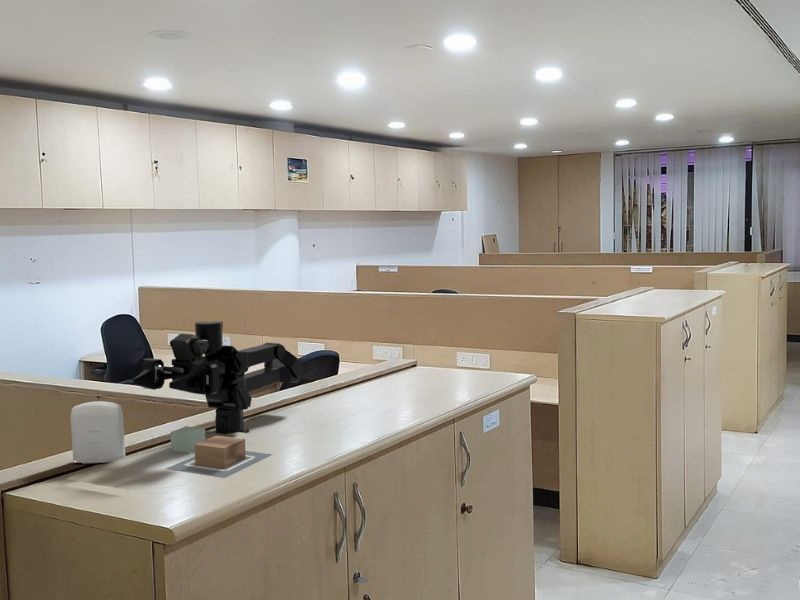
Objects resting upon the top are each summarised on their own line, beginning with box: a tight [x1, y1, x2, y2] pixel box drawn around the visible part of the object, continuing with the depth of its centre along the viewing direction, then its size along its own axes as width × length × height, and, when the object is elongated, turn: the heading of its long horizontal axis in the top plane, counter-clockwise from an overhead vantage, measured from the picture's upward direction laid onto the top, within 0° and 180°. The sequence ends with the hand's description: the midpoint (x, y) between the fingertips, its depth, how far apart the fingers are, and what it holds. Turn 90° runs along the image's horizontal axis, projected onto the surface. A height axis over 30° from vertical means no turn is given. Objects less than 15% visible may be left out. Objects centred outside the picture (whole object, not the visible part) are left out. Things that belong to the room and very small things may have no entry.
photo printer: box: [70, 400, 126, 464], centre depth 158 cm, size 10×4×12 cm, turn 96°
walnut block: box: [194, 435, 246, 468], centre depth 154 cm, size 7×7×4 cm
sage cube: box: [170, 425, 206, 454], centre depth 164 cm, size 5×5×5 cm
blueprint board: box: [165, 450, 273, 479], centre depth 155 cm, size 16×14×1 cm
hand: (151, 383), depth 154 cm, fingers open, 9 cm apart
